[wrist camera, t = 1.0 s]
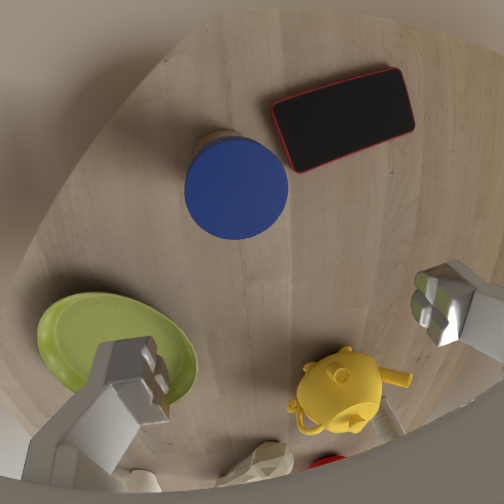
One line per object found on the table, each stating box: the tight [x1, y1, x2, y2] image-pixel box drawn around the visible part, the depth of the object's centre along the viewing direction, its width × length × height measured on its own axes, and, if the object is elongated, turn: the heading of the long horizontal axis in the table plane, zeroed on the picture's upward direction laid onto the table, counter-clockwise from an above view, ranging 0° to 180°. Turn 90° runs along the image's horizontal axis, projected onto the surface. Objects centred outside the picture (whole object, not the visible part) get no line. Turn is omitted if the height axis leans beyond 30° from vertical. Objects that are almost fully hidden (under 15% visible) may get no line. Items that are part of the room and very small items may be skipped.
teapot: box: [287, 346, 412, 435], centre depth 40 cm, size 14×14×11 cm
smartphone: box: [270, 67, 415, 174], centre depth 28 cm, size 7×1×15 cm
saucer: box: [37, 292, 198, 406], centre depth 35 cm, size 21×21×3 cm
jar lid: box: [184, 136, 288, 240], centre depth 20 cm, size 6×6×2 cm
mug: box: [124, 470, 161, 493], centre depth 49 cm, size 12×9×12 cm
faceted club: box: [214, 442, 294, 488], centre depth 52 cm, size 9×8×25 cm
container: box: [370, 397, 406, 444], centre depth 46 cm, size 5×5×15 cm
